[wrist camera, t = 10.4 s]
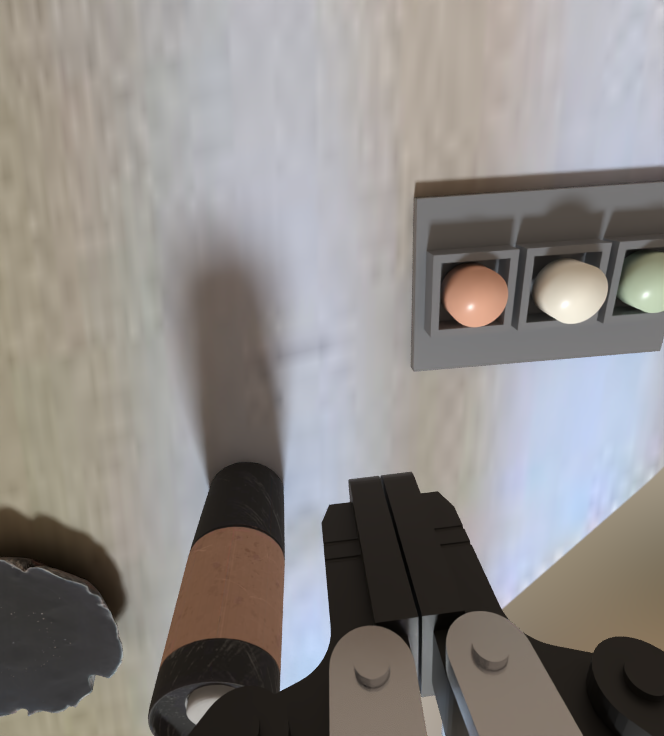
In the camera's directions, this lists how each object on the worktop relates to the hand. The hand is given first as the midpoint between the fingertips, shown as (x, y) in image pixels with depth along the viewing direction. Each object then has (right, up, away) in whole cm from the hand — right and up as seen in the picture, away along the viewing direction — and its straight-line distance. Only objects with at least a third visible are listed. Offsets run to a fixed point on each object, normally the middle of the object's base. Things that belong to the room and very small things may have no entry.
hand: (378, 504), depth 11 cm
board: (-34, -23, +38) cm, 56 cm away
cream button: (+17, +10, +24) cm, 31 cm away
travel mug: (-9, -9, +34) cm, 36 cm away
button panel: (+16, +11, +27) cm, 33 cm away
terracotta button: (+10, +9, +25) cm, 28 cm away
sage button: (+23, +10, +25) cm, 36 cm away
